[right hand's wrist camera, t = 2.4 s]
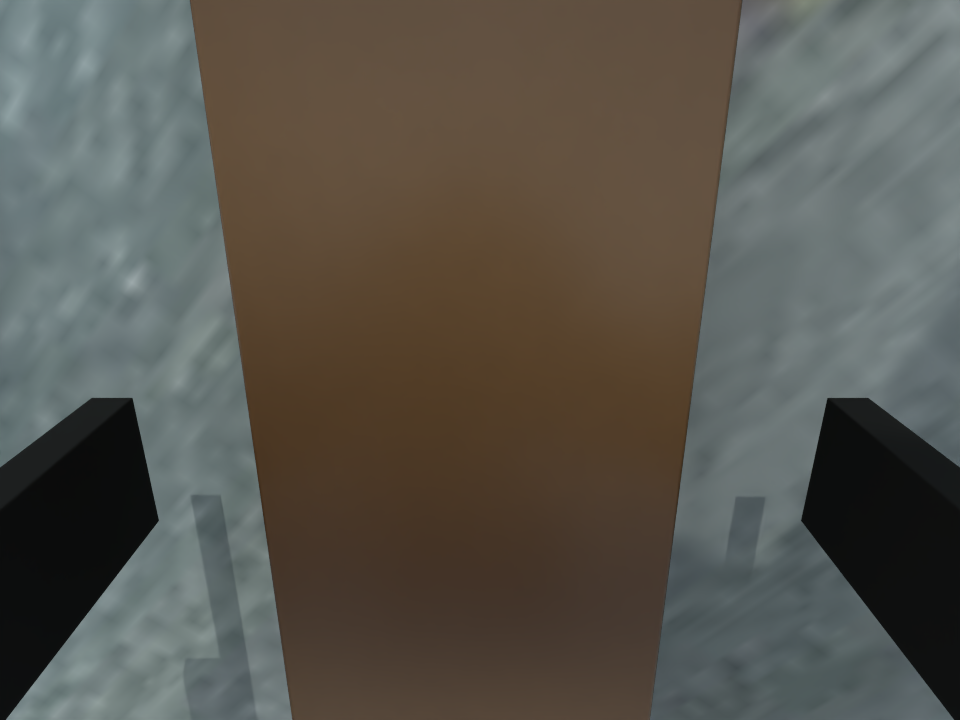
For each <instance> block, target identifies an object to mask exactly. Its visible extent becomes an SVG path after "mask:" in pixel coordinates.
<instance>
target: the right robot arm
mask: <svg viewBox="0 0 960 720" xmlns="http://www.w3.org/2000/svg"><path fill="white" fill-rule="evenodd" d="M158 521H159V519H158V515H157V510H156V505H155V501H154V496H153V491H152V487H151V482H150V477H149V473H148V468H147V464H146V459H145V454H144V450H143V445H142V440H141V436H140V431H139V426H138V422H137V417H136V412H135V408H134V403H133V398H91V399H90V400H89V401H87V402H86V403H85V404H83V405H82V406H81V407H79V408H78V409H77V410H75V411H74V412H73V413H71V414H70V415H69V416H68V417H66V418H65V419H64V420H62V421H61V422H60V423H58V424H57V425H56V426H54V427H53V428H52V429H50V430H49V431H48V432H46V433H45V434H44V435H43V436H41V437H40V438H39V439H37V440H36V441H35V442H33V443H32V444H31V445H29V446H28V447H27V448H25V449H24V450H23V451H21V452H20V453H19V454H17V455H16V456H15V457H14V458H12V459H11V460H10V461H8V462H7V463H6V464H4V465H3V466H2V467H0V720H6V719H7V717H8V716H9V715H10V713H11V712H12V711H13V710H14V708H15V707H16V706H17V704H18V703H19V702H20V700H21V699H22V698H23V697H24V695H25V694H26V693H27V691H28V690H29V689H30V687H31V686H32V685H33V684H34V682H35V681H36V680H37V678H38V677H39V676H40V674H41V673H42V672H43V671H44V669H45V668H46V667H47V665H48V664H49V663H50V661H51V660H52V659H53V658H54V656H55V655H56V654H57V652H58V651H59V650H60V648H61V647H62V646H63V645H64V643H65V642H66V641H67V639H68V638H69V637H70V635H71V634H72V633H73V632H74V630H75V629H76V628H77V626H78V625H79V624H80V622H81V621H82V620H83V619H84V617H85V616H86V615H87V613H88V612H89V611H90V609H91V608H92V607H93V606H94V604H95V603H96V602H97V600H98V599H99V598H100V596H101V595H102V594H103V593H104V591H105V590H106V589H107V587H108V586H109V585H110V583H111V582H112V581H113V580H114V578H115V577H116V576H117V574H118V573H119V572H120V570H121V569H122V568H123V567H124V565H125V564H126V563H127V561H128V560H129V559H130V557H131V556H132V555H133V554H134V552H135V551H136V550H137V548H138V547H139V546H140V544H141V543H142V542H143V541H144V539H145V538H146V537H147V535H148V534H149V533H150V531H151V530H152V529H153V528H154V526H155V525H156V524H157V522H158ZM801 521H802V522H803V524H804V525H805V526H806V528H807V529H808V530H809V531H810V533H811V534H812V535H813V537H814V538H815V539H816V541H817V542H818V543H819V544H820V546H821V547H822V548H823V550H824V551H825V552H826V554H827V555H828V556H829V557H830V559H831V560H832V561H833V563H834V564H835V565H836V567H837V568H838V569H839V570H840V572H841V573H842V574H843V576H844V577H845V578H846V580H847V581H848V582H849V583H850V585H851V586H852V587H853V589H854V590H855V591H856V593H857V594H858V595H859V596H860V598H861V599H862V600H863V602H864V603H865V604H866V606H867V607H868V608H869V609H870V611H871V612H872V613H873V615H874V616H875V617H876V619H877V620H878V621H879V622H880V624H881V625H882V626H883V628H884V629H885V630H886V632H887V633H888V634H889V635H890V637H891V638H892V639H893V641H894V642H895V643H896V645H897V646H898V647H899V648H900V650H901V651H902V652H903V654H904V655H905V656H906V658H907V659H908V660H909V661H910V663H911V664H912V665H913V667H914V668H915V669H916V671H917V672H918V673H919V674H920V676H921V677H922V678H923V680H924V681H925V682H926V684H927V685H928V686H929V687H930V689H931V690H932V691H933V693H934V694H935V695H936V697H937V698H938V699H939V700H940V702H941V703H942V704H943V706H944V707H945V708H946V710H947V711H948V712H949V713H950V715H951V716H952V717H953V719H954V720H960V467H958V466H957V465H956V464H954V463H953V462H952V461H950V460H949V459H948V458H946V457H945V456H944V455H943V454H941V453H940V452H939V451H937V450H936V449H935V448H933V447H932V446H931V445H929V444H928V443H927V442H925V441H924V440H923V439H921V438H920V437H919V436H917V435H916V434H915V433H914V432H912V431H911V430H910V429H908V428H907V427H906V426H904V425H903V424H902V423H900V422H899V421H898V420H896V419H895V418H894V417H892V416H891V415H890V414H889V413H887V412H886V411H885V410H883V409H882V408H881V407H879V406H878V405H877V404H875V403H874V402H873V401H871V400H870V399H869V398H827V403H826V408H825V412H824V417H823V422H822V426H821V431H820V436H819V440H818V445H817V450H816V454H815V459H814V464H813V468H812V473H811V477H810V482H809V487H808V491H807V496H806V501H805V505H804V510H803V515H802V519H801Z"/></svg>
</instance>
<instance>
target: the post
mask: <svg viewBox="0 0 960 720" xmlns="http://www.w3.org/2000/svg"><path fill="white" fill-rule="evenodd" d="M190 4H191V11H192V18H193V25H194V32H195V39H196V46H197V53H198V60H199V67H200V74H201V81H202V88H203V95H204V103H205V110H206V117H207V124H208V131H209V138H210V145H211V152H212V159H213V166H214V173H215V180H216V187H217V194H218V201H219V208H220V215H221V222H222V229H223V236H224V243H225V250H226V257H227V264H228V271H229V278H230V285H231V292H232V299H233V306H234V313H235V320H236V327H237V334H238V341H239V348H240V355H241V362H242V369H243V376H244V383H245V390H246V397H247V404H248V411H249V418H250V425H251V432H252V439H253V446H254V453H255V460H256V467H257V474H258V481H259V488H260V496H261V503H262V510H263V517H264V524H265V531H266V538H267V545H268V552H269V559H270V566H271V573H272V580H273V587H274V594H275V601H276V608H277V615H278V622H279V629H280V636H281V643H282V650H283V657H284V664H285V671H286V678H287V685H288V692H289V699H290V706H291V713H292V720H650V714H651V706H652V699H653V691H654V683H655V675H656V668H657V660H658V652H659V644H660V636H661V629H662V621H663V613H664V605H665V598H666V590H667V582H668V574H669V567H670V559H671V551H672V543H673V536H674V528H675V520H676V512H677V505H678V497H679V489H680V481H681V473H682V466H683V458H684V450H685V442H686V435H687V427H688V419H689V411H690V404H691V396H692V388H693V380H694V373H695V365H696V357H697V349H698V341H699V334H700V326H701V318H702V310H703V303H704V295H705V287H706V279H707V272H708V264H709V256H710V248H711V241H712V233H713V225H714V217H715V210H716V202H717V194H718V186H719V178H720V171H721V163H722V155H723V147H724V140H725V132H726V124H727V116H728V109H729V101H730V93H731V85H732V78H733V70H734V62H735V54H736V46H737V39H738V31H739V23H740V15H741V8H742V0H190Z"/></svg>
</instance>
